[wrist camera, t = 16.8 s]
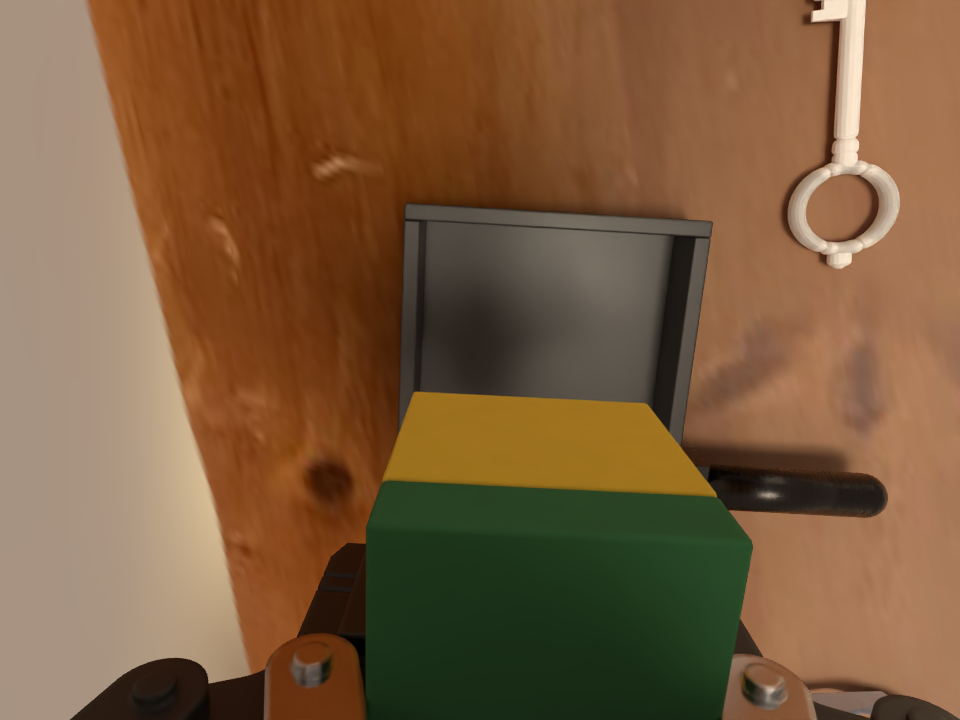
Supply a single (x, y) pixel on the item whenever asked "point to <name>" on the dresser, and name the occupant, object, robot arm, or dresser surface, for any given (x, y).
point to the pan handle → (793, 490)
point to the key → (845, 143)
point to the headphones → (849, 700)
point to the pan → (551, 306)
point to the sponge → (547, 567)
